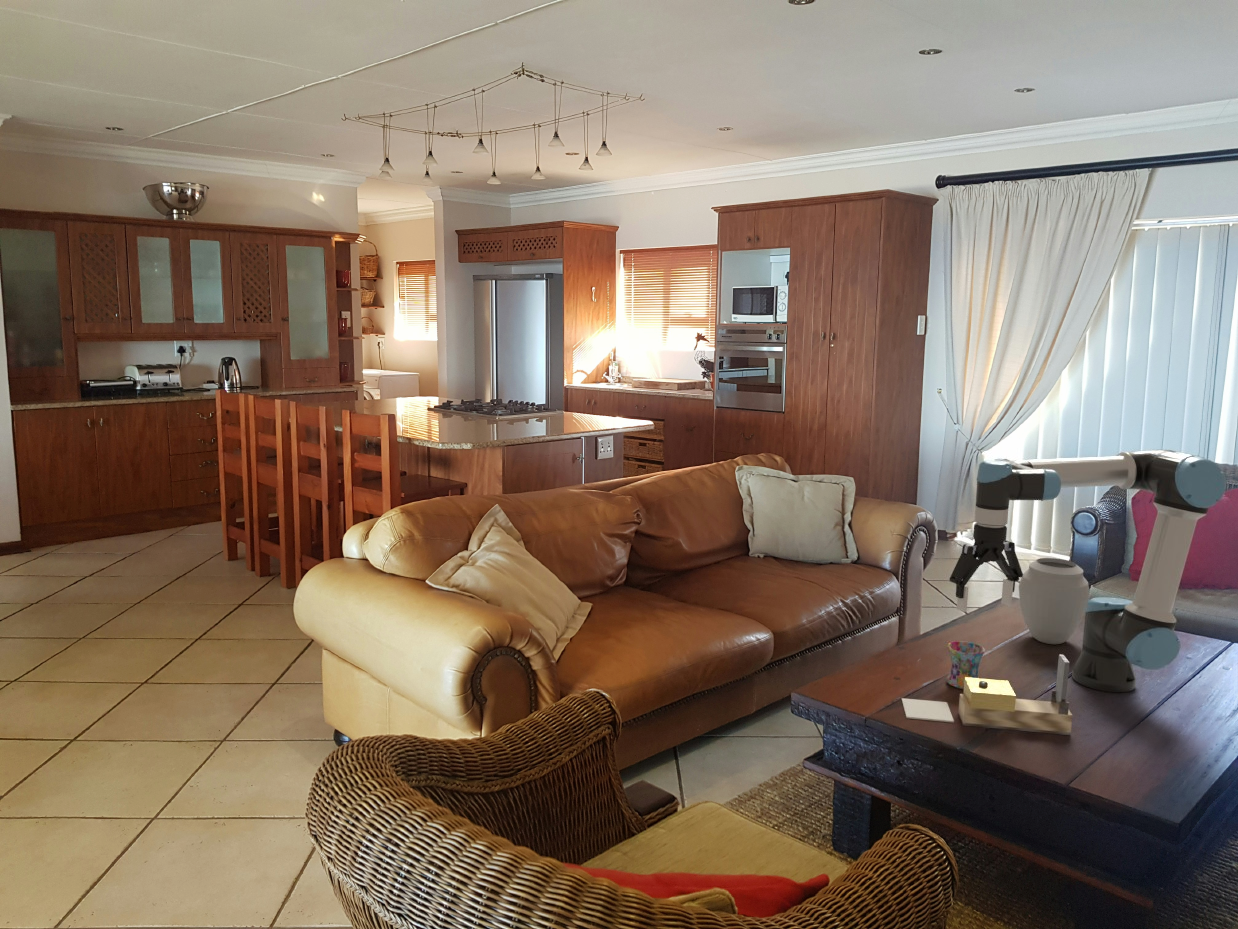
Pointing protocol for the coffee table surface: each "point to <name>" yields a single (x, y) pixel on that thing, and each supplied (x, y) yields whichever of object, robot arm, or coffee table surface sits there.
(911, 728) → the coffee table surface
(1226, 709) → the coffee table surface
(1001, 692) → the yellow block with knob
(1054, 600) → the vase
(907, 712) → the felt pad
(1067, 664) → the lever
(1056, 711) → the body
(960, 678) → the mug
